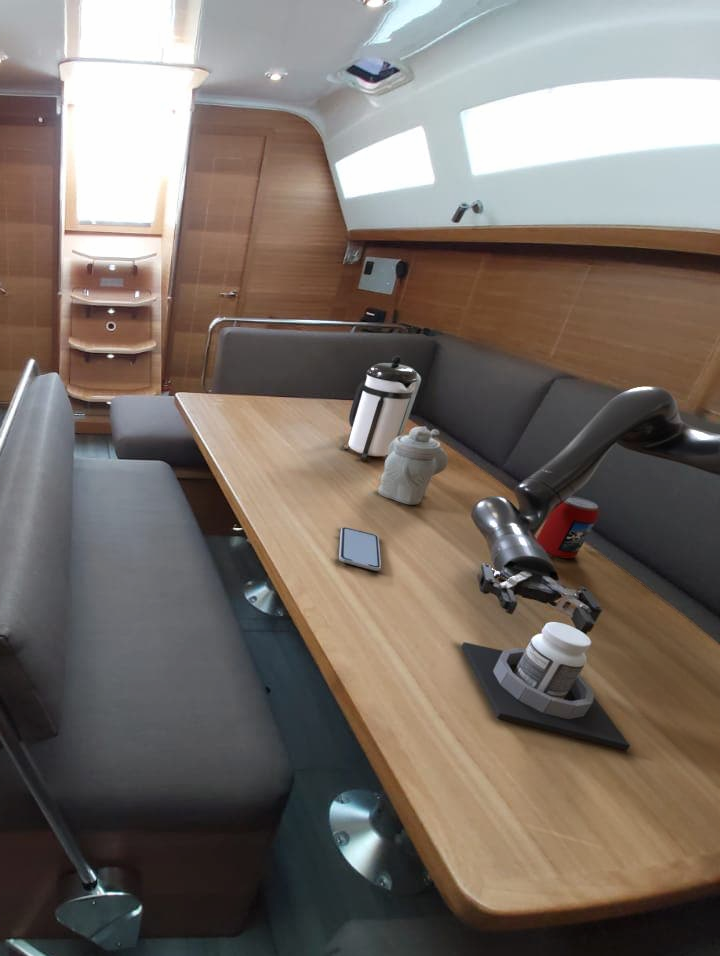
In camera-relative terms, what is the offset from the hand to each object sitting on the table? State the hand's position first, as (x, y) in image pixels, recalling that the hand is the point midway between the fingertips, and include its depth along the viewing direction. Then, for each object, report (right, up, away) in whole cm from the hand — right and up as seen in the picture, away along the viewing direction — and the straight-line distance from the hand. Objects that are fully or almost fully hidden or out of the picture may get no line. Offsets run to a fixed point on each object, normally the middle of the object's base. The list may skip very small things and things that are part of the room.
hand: (547, 618), depth 73 cm
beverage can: (+32, +5, +33) cm, 46 cm away
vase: (+34, +35, +97) cm, 109 cm away
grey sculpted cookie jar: (+15, +17, +56) cm, 61 cm away
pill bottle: (-4, -9, -2) cm, 10 cm away
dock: (-4, -10, -2) cm, 11 cm away
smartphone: (-11, +6, +31) cm, 33 cm away
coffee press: (+19, +29, +81) cm, 88 cm away
